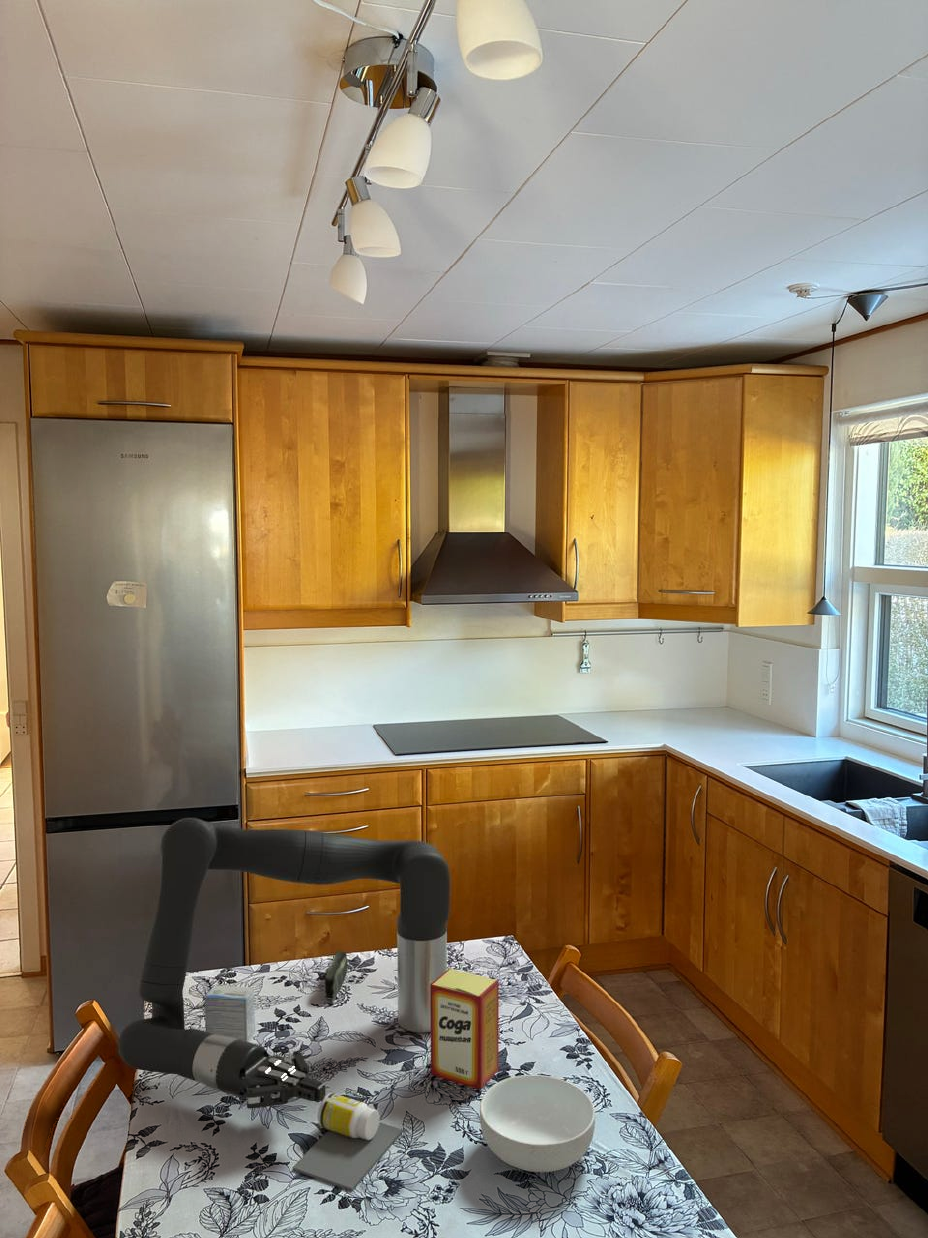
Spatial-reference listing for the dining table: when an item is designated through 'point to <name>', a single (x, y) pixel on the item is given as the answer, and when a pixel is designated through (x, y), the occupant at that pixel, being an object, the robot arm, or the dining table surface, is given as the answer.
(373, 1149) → the mat
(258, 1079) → the robot arm
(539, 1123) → the cereal bowl
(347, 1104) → the supplement bottle
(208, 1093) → the dining table surface
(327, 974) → the dark green elongated piece
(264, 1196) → the dining table surface
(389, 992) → the dining table surface
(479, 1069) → the baking soda box
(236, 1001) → the medicine box
